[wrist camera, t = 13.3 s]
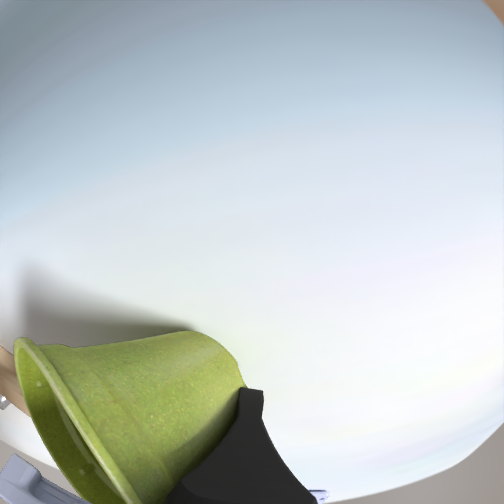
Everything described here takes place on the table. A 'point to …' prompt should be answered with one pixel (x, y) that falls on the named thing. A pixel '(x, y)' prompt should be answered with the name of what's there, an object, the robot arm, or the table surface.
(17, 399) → the oak arm
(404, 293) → the table surface
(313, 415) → the table surface
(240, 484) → the robot arm
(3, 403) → the stop post
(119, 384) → the plant pot
